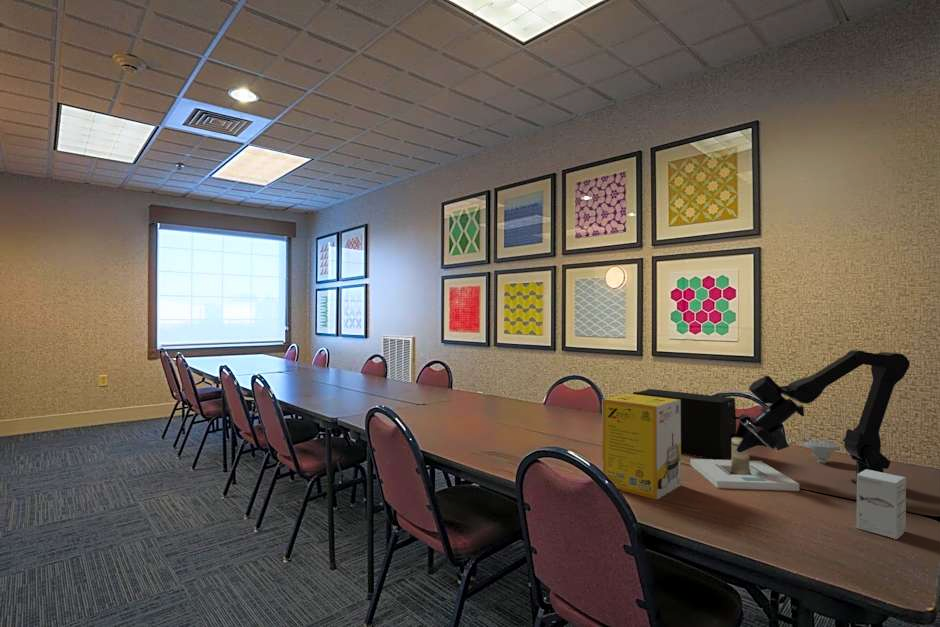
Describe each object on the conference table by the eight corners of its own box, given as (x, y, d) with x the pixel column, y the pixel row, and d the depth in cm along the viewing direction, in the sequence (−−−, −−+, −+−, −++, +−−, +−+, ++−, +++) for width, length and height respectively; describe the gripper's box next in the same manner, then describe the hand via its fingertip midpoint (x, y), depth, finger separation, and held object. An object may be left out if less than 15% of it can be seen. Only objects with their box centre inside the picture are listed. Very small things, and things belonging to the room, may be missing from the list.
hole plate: (799, 490, 135) (799, 483, 135) (717, 487, 137) (717, 480, 137) (760, 467, 156) (760, 460, 157) (690, 464, 159) (690, 458, 159)
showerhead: (803, 435, 169) (838, 440, 163) (803, 456, 169) (839, 461, 163) (801, 441, 161) (839, 445, 155) (802, 462, 161) (839, 468, 155)
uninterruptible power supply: (651, 437, 197) (651, 388, 197) (741, 453, 173) (740, 398, 173) (631, 444, 186) (631, 392, 186) (725, 462, 161) (724, 403, 162)
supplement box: (855, 528, 110) (854, 473, 110) (866, 521, 114) (865, 468, 115) (897, 541, 104) (896, 482, 104) (907, 532, 108) (906, 476, 109)
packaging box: (628, 472, 151) (628, 393, 151) (681, 485, 139) (680, 399, 139) (602, 485, 139) (601, 399, 140) (656, 500, 128) (656, 406, 128)
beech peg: (752, 474, 145) (752, 441, 144) (736, 474, 145) (736, 442, 145) (744, 468, 150) (744, 437, 149) (728, 468, 150) (728, 437, 149)
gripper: (811, 443, 134) (767, 479, 137) (784, 425, 152) (746, 457, 155) (779, 414, 136) (736, 450, 139) (757, 400, 154) (719, 432, 157)
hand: (735, 448), depth 147 cm, fingers closed on beech peg, 5 cm apart
